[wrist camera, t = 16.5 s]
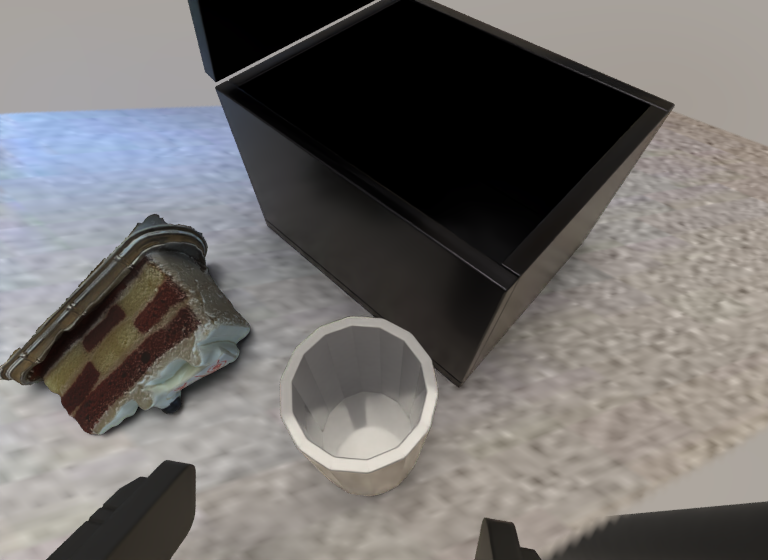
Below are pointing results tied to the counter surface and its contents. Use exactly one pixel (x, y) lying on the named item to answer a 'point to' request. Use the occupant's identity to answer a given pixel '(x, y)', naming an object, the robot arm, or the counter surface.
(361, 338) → the cup
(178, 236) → the checkered cake slice
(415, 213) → the black hollow box
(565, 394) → the counter surface
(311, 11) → the black box lid
